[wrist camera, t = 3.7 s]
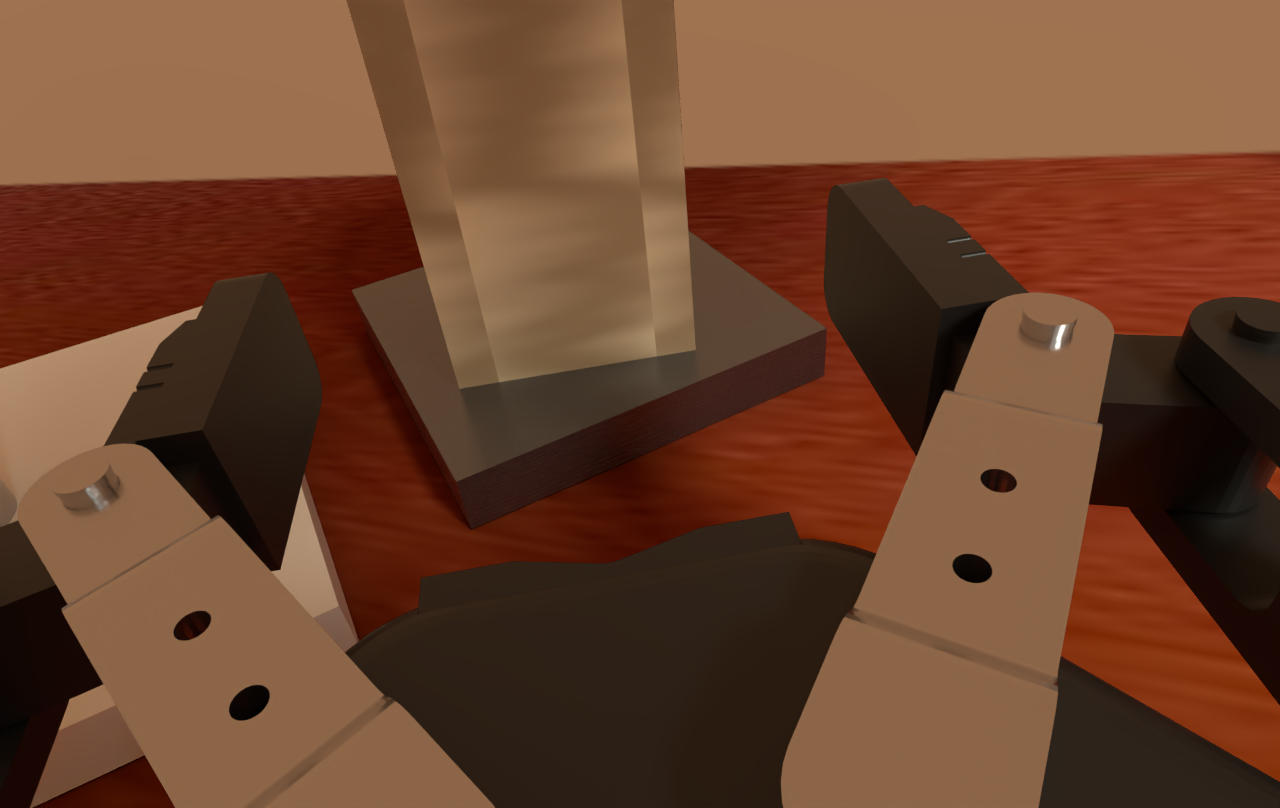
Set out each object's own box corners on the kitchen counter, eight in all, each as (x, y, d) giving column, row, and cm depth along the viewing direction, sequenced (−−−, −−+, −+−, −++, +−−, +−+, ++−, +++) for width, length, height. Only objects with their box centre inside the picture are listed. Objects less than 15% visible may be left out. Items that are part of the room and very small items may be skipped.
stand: (644, 236, 29) (613, -69, 23) (824, 375, 22) (845, -14, 16) (366, 331, 26) (249, 5, 20) (471, 529, 19) (338, 114, 13)
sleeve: (656, 242, 26) (622, -142, 19) (695, 350, 21) (666, -110, 15) (463, 272, 25) (366, -109, 19) (459, 388, 21) (328, -65, 14)
